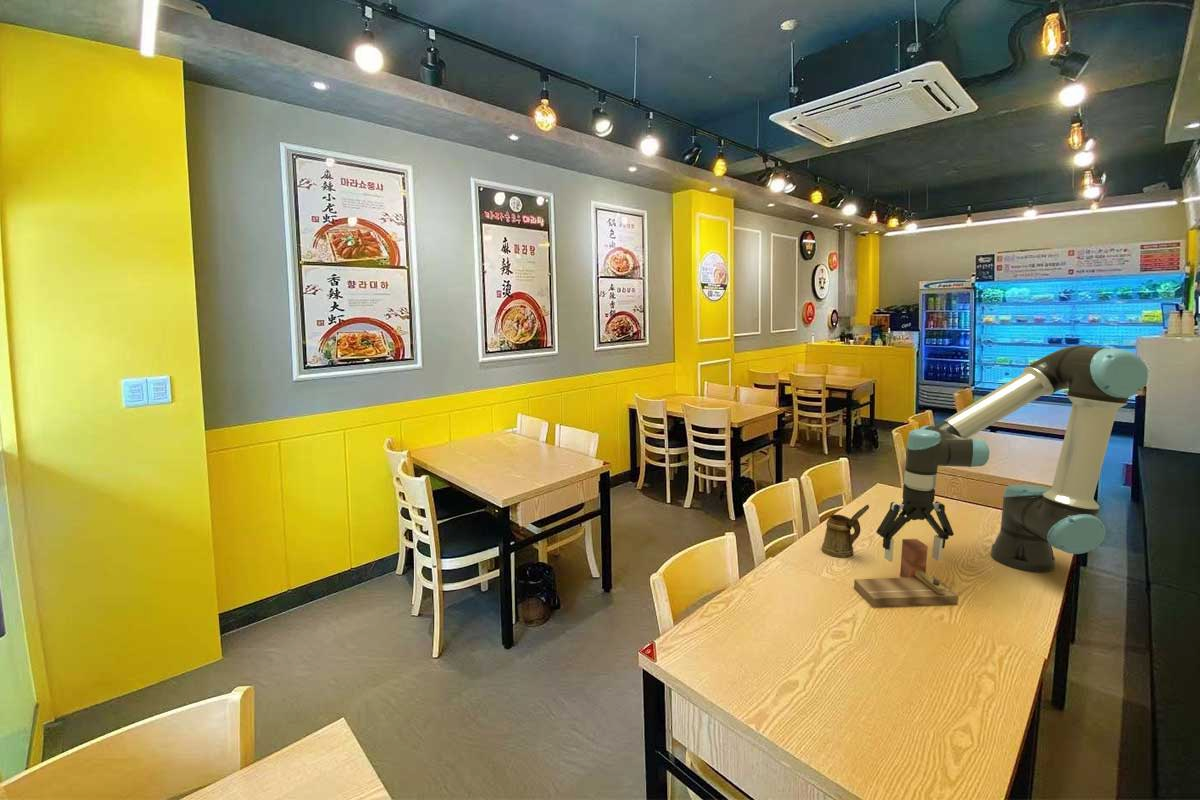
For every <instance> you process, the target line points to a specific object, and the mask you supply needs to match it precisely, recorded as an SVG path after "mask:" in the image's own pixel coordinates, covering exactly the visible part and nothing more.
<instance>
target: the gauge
mask: <svg viewBox="0 0 1200 800" xmlns="http://www.w3.org/2000/svg"><path fill="white" fill-rule="evenodd" d="M901 543H902V544H901V557H900V558H901V559H900V571H899V576H900V578H910V577H918V578H919V579H920V580H921V581H923V582H924V583H925V584H926V585H928V586H929V587H930V588H931V589H932V590H934V591H935V592H936V593H937V594H945V591H946V589H945V588H944V587H943V586H941V585H940V584H939V581H940V580H939V579H937V578H936V579H937V580H936V579H932V578H931V577H932V576H930V575H928V573H927V571H926V570H927V561H928V559H927V558H928V545H926V544H925V543H924V542H922V541H920V540H919V539H918V538H903V539H902V542H901Z"/></svg>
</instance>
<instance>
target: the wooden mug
mask: <svg viewBox="0 0 1200 800" xmlns="http://www.w3.org/2000/svg"><path fill="white" fill-rule="evenodd" d="M869 509H870V505H869V504H866V505H865V506H863V507H862V508H861V509H859V510H858V511H857V512H856V513H855V514H853V516H851V517H848V516H846V515H843V514H837V513H836V514H830V515H829V516H828V519H827V521H826V530H825V535H824V539H823V543H822V545H821V551H822V552H823V553H824V554H826V555H828V556H831V557H836V558H848V557H850V556H852V555H854V546H853V543H854V542H855V541H856V540H857V539H858V538H859V536H860V534H861V524H860V521H859V519H860V517H862V516H863V515H864V514H865V513H866V512H867V511H868V510H869ZM852 528H853V533H851V530H852Z"/></svg>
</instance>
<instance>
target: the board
mask: <svg viewBox="0 0 1200 800" xmlns="http://www.w3.org/2000/svg"><path fill="white" fill-rule="evenodd" d="M930 577H931V578H932V579H936V580H938V578H936V577H935V576H930ZM939 584H940V585H941V586H943V587H944V588H945V589H946V591H945V594H937V593H936V592H935V591H934V590H932V589H931V588H930V587H929V586H928V585H926V584H925V583H924V582H923V581H921V580H920V579H919V578H918V577H910V578H902V577H887V578H886V577H884V578H859V579H858V578H856V579H855V578H854V582H853V589H854V590H856V592H857V593H859V594H860V596H861V597H862V598H863V599H864V600H865V601H866V602H867V603H868V604H869V605H870V606H871V608H894V607H895V608H898V607H899V608H900V607H925V606H926V607H929V606H955V605H956V606H957V605H959V595H958V594H957V593H956V592H955V591H953V590H951V589H950V588H949V587H948V586H947V585H945V584H944V583H942V581H940V580H939Z"/></svg>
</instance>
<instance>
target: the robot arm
mask: <svg viewBox="0 0 1200 800" xmlns="http://www.w3.org/2000/svg"><path fill="white" fill-rule="evenodd" d="M1148 374H1149V372H1148V367H1147V365H1146V363H1145V361H1144V360H1143V359H1142V358H1141V356H1139V355H1138V354H1137V353H1134V352H1132V351H1129V350H1125V349H1119V348H1115V347H1100V346H1099V347H1098V346H1096V347H1095V346H1086V345H1073V346H1067V347H1064V348H1060V349H1059V350H1055V351H1054V352H1051V353H1050V354H1047V355H1045V356H1042V358H1039V359H1038V360H1035V361H1034V362H1032V363H1031V364H1029V365H1028V366H1027V365H1026V366H1025V367H1024V368H1022V373H1021V374H1020V375H1018V376H1016V377H1015V378H1013V379H1011V380H1009V381H1008V382H1006V383H1005V384H1003V385H1001V386H999V387H998V388H995V390H993V391H991V392H990V393H988V394H986V395H985V396H983V397H981V398H979V399H978V400H976V401H974V402H973V403H972V404H969V405H968V406H966V407H965V408H962V409H961V410H959V411H958V412H956V413H954V414H953V415H951V416H949V417H948V418H946V419H944V420H943V421H940V422H939V423H938V424H936V425H933V424H931V425H929V424H928V425H927V424H926V425H924V426H921V427H920V428H918V429H912V430H910V431H909V433H908V437H907V441H906V442H907V443H906V445H905V446H906V454H905V456H906V457H905V468H904V476H903V477H904V478H903V483H904V484H903V488H902V502H901V503H896V502H895V501H892V502H890V506H889V510H888V511H887V513H886V515H885V516H884V518H883V520H882V521H881V523H880V524H879V526H878V528H877V530H876V534H878V535H879V536H880V537H881V538H882V539H883V540H882V548H884V556H883V557H884V559H885V560H887V561H888V562H889V563H892V562H893V559H894V549H895V548H894V547H895V539H894V538H893V537H894V536H895V535H896V534H897V533H898V532H899V531H900V530H901V529H902V528H903V527H904V526H905V525H906V524H907V523H909V522H911V520H912V521H917V520H919V521H924V520H926V522H927V523H928V524H929V525H930V527H931V528H932V529H933V530H934V532H935V533H936V534H934V535H933V541H932V542H933V543H932V553H931V557H932V558H933V559H935V560H936V561H937V562H941V561H942V551H943V550H944V549H945V548H946V547H945V546H946V540H949V538H950V537H953V536H954V535H955V534H954V530H953V528H952V525H951V523H950V521H949V519H948V516H947V513H946V508H945V507H946V506H945V504H944V503H942V502H940V501H935V497H936V496H935V495H936V489H935V488H937V487H936V486H937V476H938V467H959V468H961V467H964V468H965V467H968V468H973V467H984V466H985V465H986V464H987V463H988V462H989V458H990V448H989V445H988V443H987V442H986V441H985V440H983V439H982V438H974V437H973V436H974V435H976V434H978V433H980V432H981V431H983V430H984V429H986V428H988V427H989V426H991V425H993V424H995V423H997V422H998V421H1000V420H1002V419H1004V418H1005V417H1007V416H1009V415H1010V414H1012V413H1014V412H1016V411H1017V410H1019V409H1021V408H1023V407H1025V406H1026V405H1028V404H1029V403H1031V402H1033V401H1035V400H1037V399H1038V398H1040V397H1042V396H1051V395H1053V394H1055V393H1057V392H1059V391H1062V390H1066V389H1067V395H1066V397H1067V398H1068V399H1069V400H1070V402H1071V403H1072V406H1071V409H1070V412H1069V413H1070V414H1069V418H1068V422H1067V425H1066V429H1065V433H1064V437H1063V438H1064V439H1063V442H1062V447H1061V449H1060V454H1059V458H1058V462H1057V466H1056V470H1055V474H1054V479H1053V482H1052V486H1051V488H1050V487H1046V486H1042V485H1037V484H1036V485H1034V484H1010V485H1008V486H1006V487H1005V488H1004V492H1003V496H1002V498H1003V501H1002V512H1001V518H1000V519H1001V522H1000V530H999V533H998V535H997V537H996V538H995V541H994V543H993V544H992V545H991V546H990V547H991V549H990V556H991V557H992V558H993V559H994V560H995V561H996V562H998V563H1000V564H1002V565H1005V566H1008V567H1011V568H1013V569H1017V570H1023V571H1028V572H1034V573H1037V572H1038V573H1045V572H1050V571H1053V570H1054V569H1055V567H1056V557H1055V555H1054V551H1053V548H1055V549H1057V550H1060V551H1062V552H1064V553H1066V554H1071V555H1072V554H1073V555H1080V554H1086V553H1088V552H1090V551H1092V550H1095V549H1097V548H1098V546H1100V544H1101V543H1102V542H1103V540H1105V539H1104V538H1105V536H1106V527H1105V525H1104V524H1103V522H1102V520H1101V519H1100V518H1099V517H1098V514H1099V510H1100V505H1099V504H1098V503H1097V501H1096V500H1095V499H1094V498H1095V493H1096V490H1097V486H1098V482H1099V480H1100V479H1099V478H1100V475H1101V472H1102V467H1103V463H1104V460H1105V457H1106V456H1105V455H1106V451H1107V449H1108V445H1109V442H1110V437H1111V433H1112V429H1113V426H1114V422H1115V419H1116V415H1117V411H1118V410H1119V409H1121V408H1123V407H1125V406H1127V405H1128V401H1129V398H1130V397H1133V396H1135V395H1137V394H1138V393H1139V391H1142V390H1143V389H1144V387H1145V386H1146V383H1148V382H1147V381H1148V378H1149V377H1148V376H1149V375H1148ZM901 510H902V511H901ZM933 510H934V511H935V514H936V516H937V519H938V521H939V523H938V522H937V521H936V519H935V518H934V516H933V514H932V512H933Z"/></svg>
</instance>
